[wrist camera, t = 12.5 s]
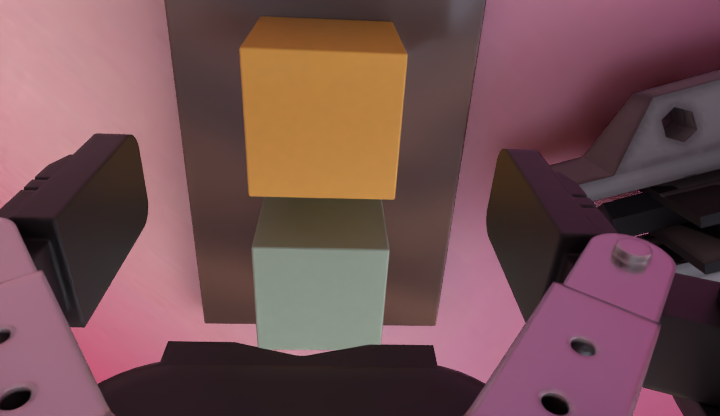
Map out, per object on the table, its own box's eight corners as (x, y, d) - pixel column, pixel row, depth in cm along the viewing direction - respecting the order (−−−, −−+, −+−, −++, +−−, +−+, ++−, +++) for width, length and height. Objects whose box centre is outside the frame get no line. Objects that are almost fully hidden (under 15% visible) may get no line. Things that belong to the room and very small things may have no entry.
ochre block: (265, 140, 21) (248, 197, 17) (260, 15, 18) (238, 46, 14) (384, 143, 21) (395, 200, 17) (392, 21, 19) (408, 53, 15)
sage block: (266, 183, 22) (250, 247, 18) (380, 186, 22) (389, 250, 18) (270, 275, 24) (257, 350, 20) (373, 277, 24) (380, 351, 20)
